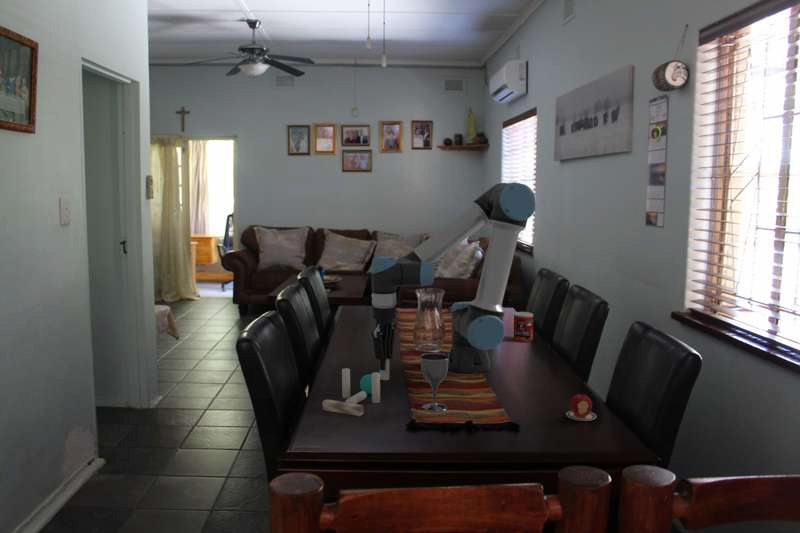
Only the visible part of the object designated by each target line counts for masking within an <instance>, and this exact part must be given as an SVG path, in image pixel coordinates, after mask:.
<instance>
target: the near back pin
mask: <svg viewBox="0 0 800 533" xmlns="http://www.w3.org/2000/svg"><path fill="white" fill-rule="evenodd" d="M371 374H372V394H371V403H373V404H379V403H380V402H381V382H380V381H381V379H380V372H375V371H374V372H372V373H371Z"/></svg>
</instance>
